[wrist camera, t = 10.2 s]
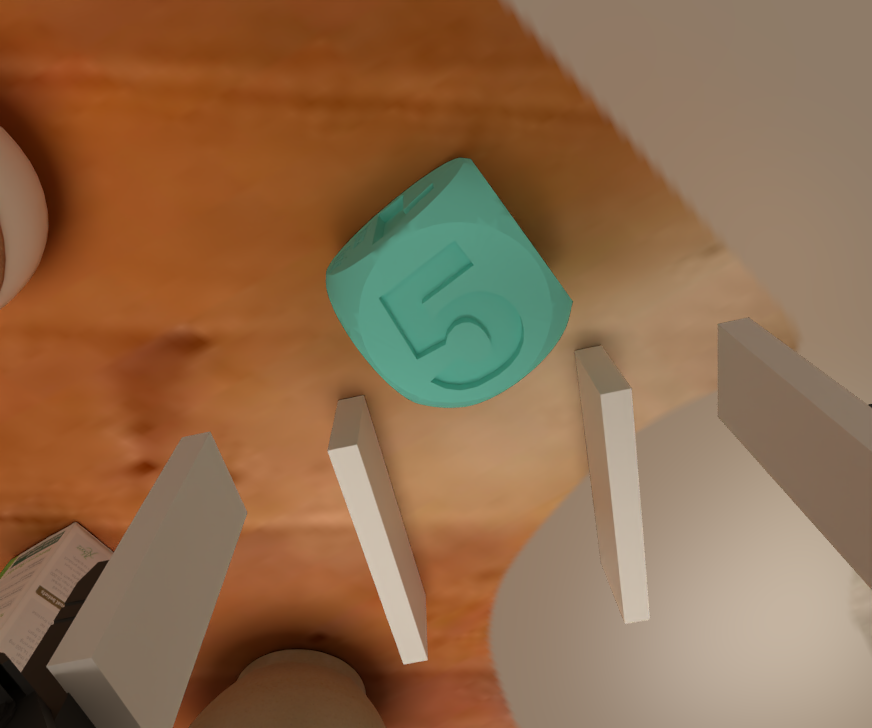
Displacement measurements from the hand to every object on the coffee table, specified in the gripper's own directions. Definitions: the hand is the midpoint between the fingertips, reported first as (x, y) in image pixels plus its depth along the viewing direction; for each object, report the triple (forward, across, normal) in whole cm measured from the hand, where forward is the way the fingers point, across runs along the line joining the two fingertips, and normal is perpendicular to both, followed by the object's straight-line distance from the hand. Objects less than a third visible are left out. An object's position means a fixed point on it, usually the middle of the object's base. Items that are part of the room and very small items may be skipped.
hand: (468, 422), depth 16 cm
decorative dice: (+17, 0, -1) cm, 17 cm away
